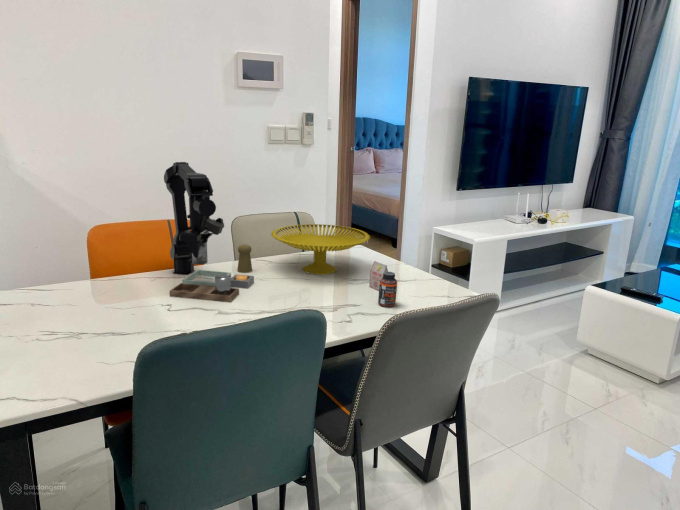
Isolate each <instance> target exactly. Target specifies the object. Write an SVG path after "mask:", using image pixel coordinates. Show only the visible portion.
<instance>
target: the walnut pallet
mask: <svg viewBox="0 0 680 510" xmlns="http://www.w3.org/2000/svg"><path fill="white" fill-rule="evenodd" d="M239 295H240V288H236V287H231V295H230V296H227V295H216V294H215V286H206V285H195V284H184V283H179V284H177V285H176V286H174V287H173V288H171V289H170V290H169V297H173V298H180V299H181V298H182V299H192V300H202V301H211V302H221V303H222V302H225V303H232V302H233V301H234V300H235V299H236V298H237V297H238V296H239Z"/></svg>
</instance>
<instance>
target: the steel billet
mask: <svg viewBox="0 0 680 510" xmlns="http://www.w3.org/2000/svg"><path fill="white" fill-rule="evenodd" d="M192 263H193V264H194V265H206V264H208V241H207V242H202V241H201V242H200V244H199V254H198V258H195V257H194V255H193V253H192Z"/></svg>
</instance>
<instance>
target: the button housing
mask: <svg viewBox="0 0 680 510" xmlns="http://www.w3.org/2000/svg"><path fill="white" fill-rule="evenodd" d="M237 275H238V274H237V273H236V274H234V275H233V276H231V288H238V289H249V288H250V287H251V286H252V285H253V284H254V283H255V275H247V274H245V275H246V276H247V280H246V281H244V280H236V276H237Z"/></svg>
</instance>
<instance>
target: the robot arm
mask: <svg viewBox="0 0 680 510" xmlns="http://www.w3.org/2000/svg"><path fill="white" fill-rule="evenodd" d="M163 181H164V183H165V187H166V189H167V190H168V193H170V194H171V197H172V198H171V199H172V207H173V216H174V227H175V235H174V236H173V238H172V244H171V248H170V250H169V255H170V258H171V259H172V260H173V272H172V274H174V275H183V276H189V275H191V274H192V273H194V272H195V271H196V269H195V264H193V263H192V253H193V255H194V257H195V258H198V254H199V244H200V242H201V241H202V242H207V243H208V240H209V238H210V237H212V236H213V235H217V236H218V235H219V234H221V233H222V232H223V229H224V228H225V222H224V219H223V218H221V217H217V218H216V219H213V218H211V217H212V216H213V215H214V214H215V212H216V210H217V205H216V203H215V202H214V201H213V200H212V199H211V196H212V197H213V196H214V195H213V192H214V189H213V187H212V183H211V181H210V179H209V177H208V176H207V175H206V174H204V173H200V172H197V171H195V170H194V169H193V168H192V167H191V166H190V164H189V162H186V161H175V162H173V164H172V165H171V166H170V167H168V168H166V169H165V172H164V174H163ZM185 193H186V194H187V196H188V208H189V209H188V212H189V213H188V215H187V207H186V206H187V205H186V197H185ZM188 219H189V224H188Z"/></svg>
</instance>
